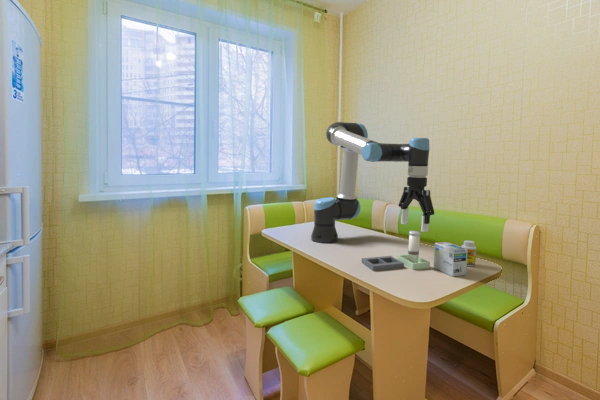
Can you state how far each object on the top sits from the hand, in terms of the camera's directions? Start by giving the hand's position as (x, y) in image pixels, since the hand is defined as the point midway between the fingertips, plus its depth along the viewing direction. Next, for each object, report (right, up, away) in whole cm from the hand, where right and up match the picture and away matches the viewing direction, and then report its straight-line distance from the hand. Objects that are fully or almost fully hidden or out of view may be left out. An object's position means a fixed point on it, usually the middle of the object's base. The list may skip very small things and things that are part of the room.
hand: (413, 227), depth 123 cm
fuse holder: (-13, -16, +1) cm, 21 cm away
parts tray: (0, -16, +2) cm, 16 cm away
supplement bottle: (+24, -16, +3) cm, 29 cm away
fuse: (0, -16, +2) cm, 16 cm away
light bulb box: (+12, -17, -5) cm, 22 cm away
